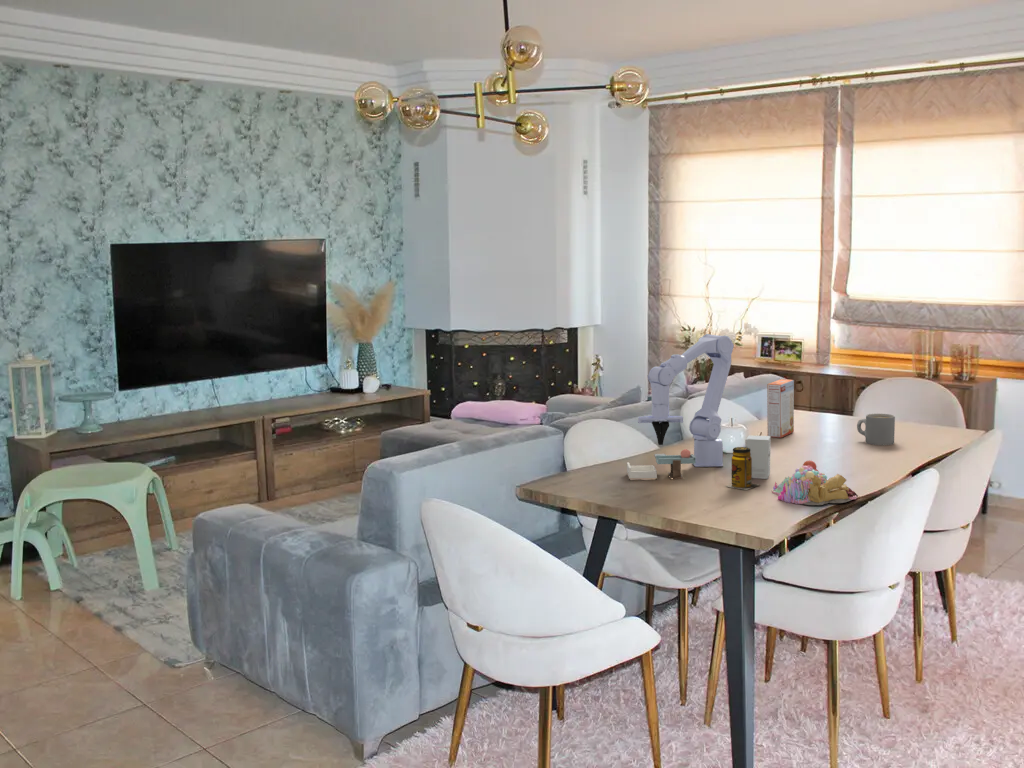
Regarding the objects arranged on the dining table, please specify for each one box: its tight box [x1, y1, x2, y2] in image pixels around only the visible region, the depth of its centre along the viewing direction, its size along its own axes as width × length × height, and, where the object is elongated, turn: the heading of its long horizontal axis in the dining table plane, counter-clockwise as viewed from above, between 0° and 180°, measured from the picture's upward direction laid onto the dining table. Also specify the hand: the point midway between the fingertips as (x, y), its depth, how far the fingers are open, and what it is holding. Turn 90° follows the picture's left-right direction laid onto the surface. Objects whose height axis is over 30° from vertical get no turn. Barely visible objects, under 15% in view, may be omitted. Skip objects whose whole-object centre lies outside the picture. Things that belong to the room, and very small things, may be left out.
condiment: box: [726, 446, 762, 491], centre depth 304 cm, size 7×8×12 cm
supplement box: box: [744, 435, 772, 480], centre depth 317 cm, size 7×7×13 cm
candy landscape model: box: [771, 460, 859, 506], centre depth 291 cm, size 25×24×9 cm
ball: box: [680, 448, 692, 458], centre depth 319 cm, size 3×3×3 cm
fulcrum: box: [667, 460, 685, 480], centre depth 319 cm, size 4×8×6 cm, turn 178°
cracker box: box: [766, 378, 795, 439], centre depth 384 cm, size 14×6×21 cm, turn 144°
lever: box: [653, 453, 696, 465], centre depth 322 cm, size 12×12×2 cm
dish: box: [626, 461, 658, 479], centre depth 320 cm, size 9×9×4 cm
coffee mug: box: [856, 413, 896, 446], centre depth 366 cm, size 13×10×10 cm
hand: (660, 444), depth 326 cm, fingers closed
